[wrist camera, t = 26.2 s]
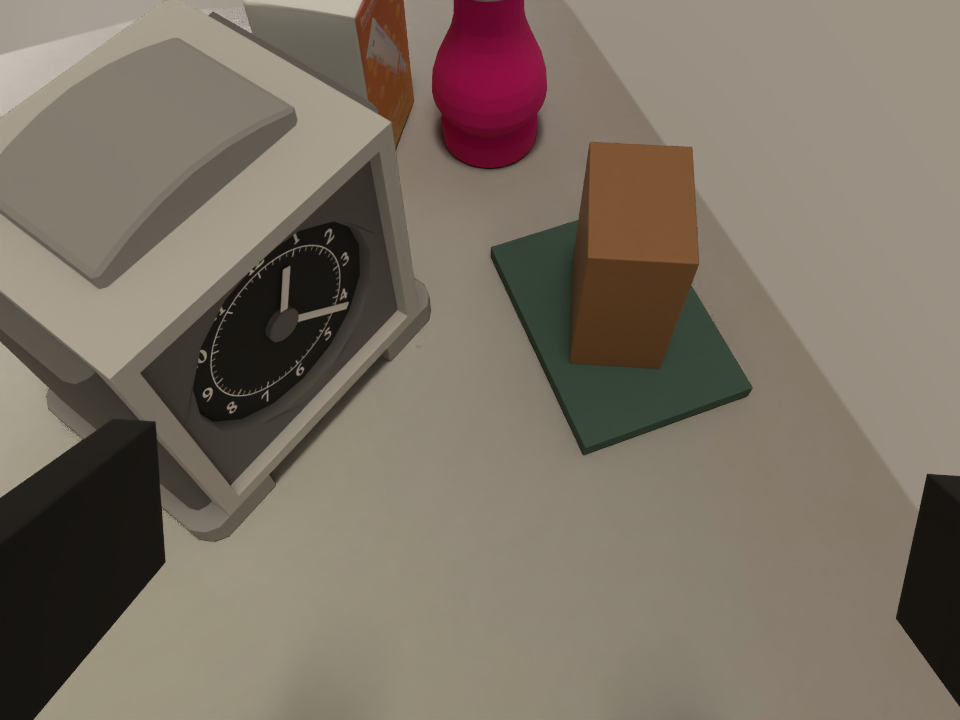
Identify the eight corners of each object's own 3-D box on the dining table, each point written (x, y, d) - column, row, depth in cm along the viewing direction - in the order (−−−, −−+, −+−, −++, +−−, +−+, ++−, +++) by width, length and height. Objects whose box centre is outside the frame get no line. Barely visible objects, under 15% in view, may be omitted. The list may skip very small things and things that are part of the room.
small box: (384, 188, 53) (355, 19, 42) (291, 173, 54) (238, 2, 43) (417, 100, 57) (398, -78, 46) (329, 86, 58) (289, -92, 47)
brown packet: (656, 265, 49) (692, 146, 40) (659, 369, 46) (699, 263, 37) (572, 260, 49) (589, 141, 41) (569, 363, 46) (587, 257, 37)
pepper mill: (546, 98, 57) (570, -219, 40) (539, 178, 54) (561, -130, 36) (443, 91, 58) (421, -225, 40) (429, 170, 54) (398, -137, 37)
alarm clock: (214, 552, 42) (42, 391, 26) (49, 410, 46) (-188, 195, 30) (440, 308, 49) (414, 62, 33) (279, 203, 53) (187, -63, 37)
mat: (748, 395, 46) (753, 387, 45) (583, 455, 44) (585, 448, 43) (638, 210, 52) (640, 200, 51) (490, 256, 51) (490, 247, 50)
